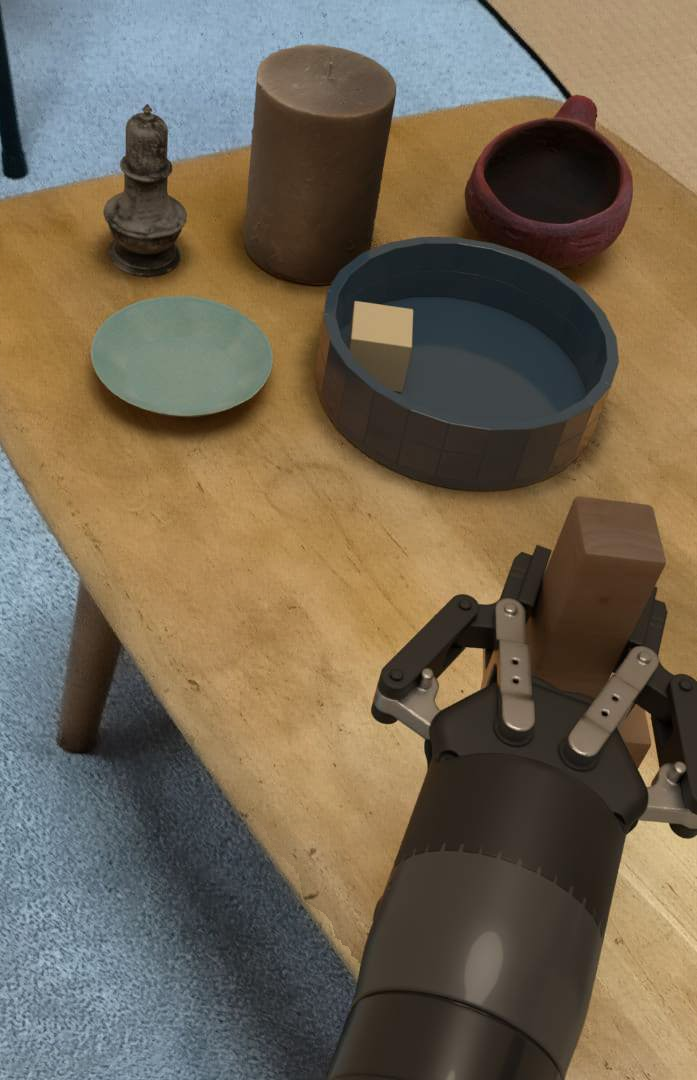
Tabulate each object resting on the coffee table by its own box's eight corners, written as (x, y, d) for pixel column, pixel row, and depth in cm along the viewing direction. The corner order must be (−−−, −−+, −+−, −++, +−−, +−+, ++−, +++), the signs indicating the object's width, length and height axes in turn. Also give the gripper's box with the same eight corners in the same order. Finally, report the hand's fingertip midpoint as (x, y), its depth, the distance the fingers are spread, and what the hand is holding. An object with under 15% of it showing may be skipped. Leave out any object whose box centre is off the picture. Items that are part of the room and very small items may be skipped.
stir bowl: (618, 351, 91) (642, 290, 87) (560, 530, 78) (584, 469, 74) (368, 269, 93) (380, 206, 89) (271, 429, 80) (279, 365, 76)
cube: (403, 354, 86) (413, 308, 83) (401, 392, 83) (412, 347, 80) (346, 346, 86) (354, 300, 83) (342, 384, 83) (351, 338, 80)
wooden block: (489, 778, 57) (584, 553, 46) (484, 720, 59) (573, 493, 49) (627, 791, 57) (752, 573, 47) (616, 733, 60) (733, 513, 49)
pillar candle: (388, 276, 93) (425, 92, 82) (266, 294, 90) (287, 104, 78) (340, 202, 99) (368, 20, 87) (223, 216, 95) (237, 29, 84)
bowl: (633, 295, 96) (666, 206, 90) (474, 294, 93) (498, 203, 87) (574, 177, 106) (601, 90, 100) (430, 173, 103) (448, 84, 97)
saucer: (136, 460, 77) (137, 434, 75) (63, 345, 83) (61, 318, 81) (301, 411, 82) (305, 385, 80) (220, 305, 88) (222, 279, 86)
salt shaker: (132, 288, 88) (134, 136, 79) (88, 244, 91) (84, 93, 82) (201, 264, 91) (209, 115, 82) (156, 222, 93) (159, 73, 85)
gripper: (734, 958, 38) (786, 577, 50) (308, 792, 40) (452, 461, 52) (656, 1046, 44) (718, 685, 55) (284, 896, 46) (419, 577, 57)
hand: (589, 579), depth 53 cm, fingers closed on wooden block, 4 cm apart
